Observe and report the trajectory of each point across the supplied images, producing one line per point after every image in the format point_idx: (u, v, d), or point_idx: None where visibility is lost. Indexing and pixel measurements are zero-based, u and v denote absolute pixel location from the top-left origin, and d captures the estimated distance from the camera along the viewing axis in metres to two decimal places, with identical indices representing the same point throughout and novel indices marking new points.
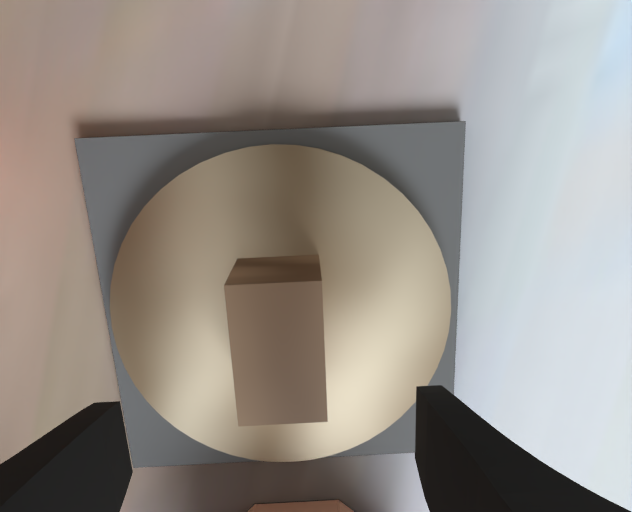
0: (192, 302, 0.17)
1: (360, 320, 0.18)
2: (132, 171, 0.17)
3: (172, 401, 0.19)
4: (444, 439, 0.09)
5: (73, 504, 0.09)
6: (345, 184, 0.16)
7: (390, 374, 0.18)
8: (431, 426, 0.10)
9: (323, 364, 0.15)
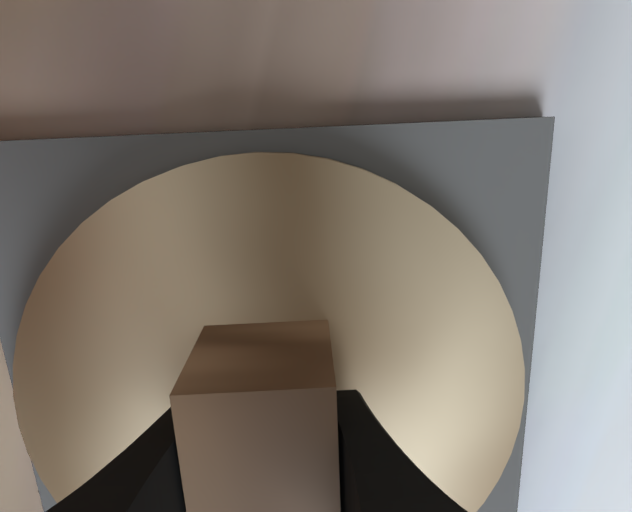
0: (137, 389, 0.12)
1: (389, 413, 0.12)
2: (44, 193, 0.11)
3: None
4: (341, 444, 0.09)
5: (178, 498, 0.09)
6: (370, 214, 0.10)
7: None
8: None
9: None
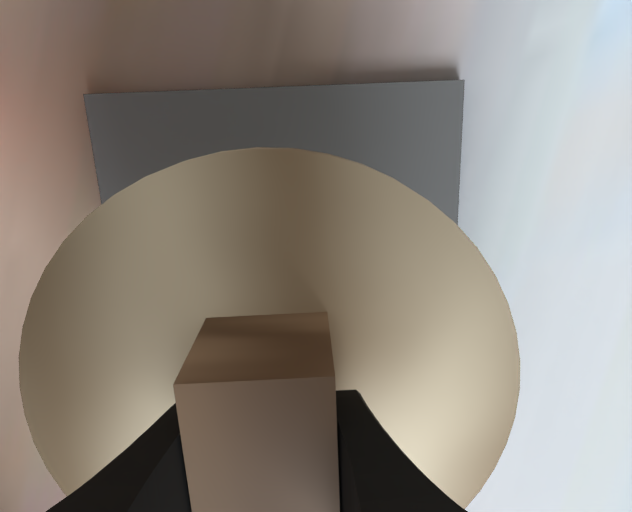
0: (141, 379, 0.12)
1: (387, 403, 0.12)
2: (139, 127, 0.17)
3: None
4: (340, 444, 0.09)
5: (178, 498, 0.09)
6: (368, 208, 0.11)
7: (428, 475, 0.13)
8: None
9: (336, 500, 0.09)
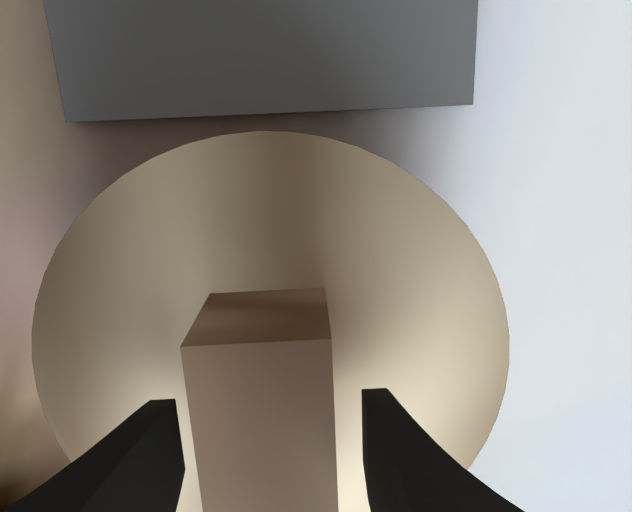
0: (148, 354, 0.12)
1: (382, 376, 0.13)
2: None
3: None
4: (377, 442, 0.09)
5: (141, 500, 0.09)
6: (363, 188, 0.11)
7: None
8: (370, 429, 0.10)
9: (333, 459, 0.10)
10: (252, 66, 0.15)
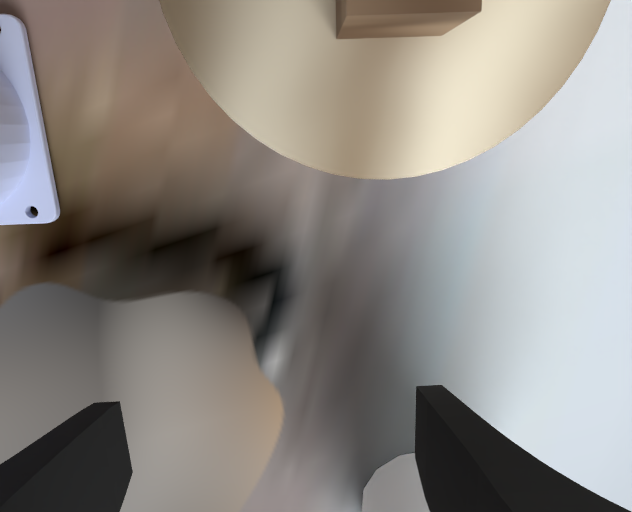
0: None
1: None
2: None
3: (228, 74, 0.13)
4: (444, 439, 0.09)
5: (72, 504, 0.09)
6: None
7: (533, 37, 0.13)
8: (431, 426, 0.10)
9: None
10: None
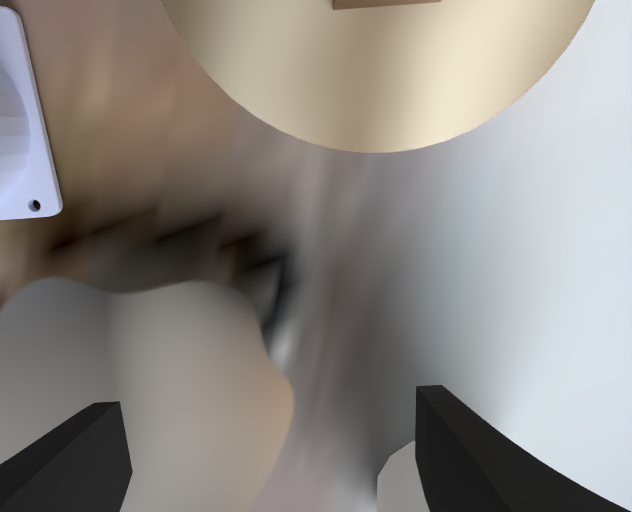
0: None
1: None
2: None
3: (225, 50, 0.13)
4: (444, 439, 0.09)
5: (73, 504, 0.09)
6: None
7: None
8: (431, 426, 0.10)
9: None
10: None
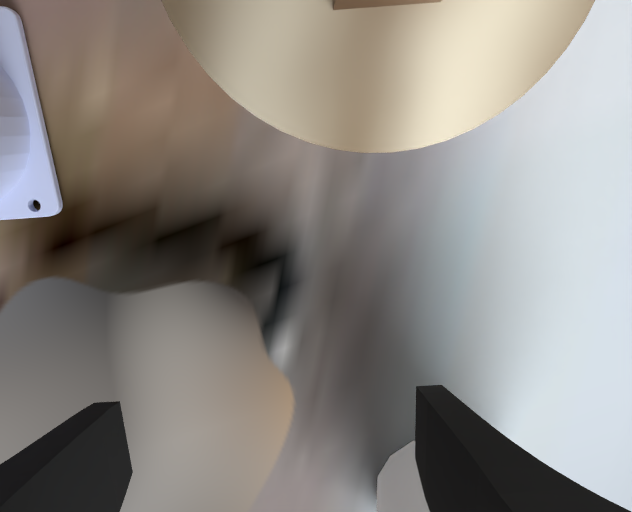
0: None
1: None
2: None
3: (225, 50, 0.13)
4: (444, 439, 0.09)
5: (73, 504, 0.09)
6: None
7: None
8: (431, 426, 0.10)
9: None
10: None
